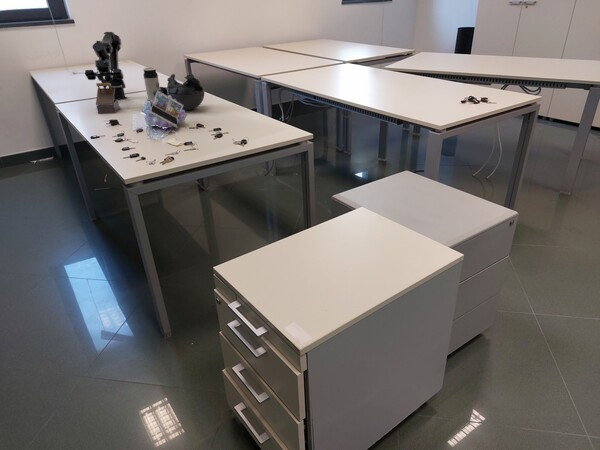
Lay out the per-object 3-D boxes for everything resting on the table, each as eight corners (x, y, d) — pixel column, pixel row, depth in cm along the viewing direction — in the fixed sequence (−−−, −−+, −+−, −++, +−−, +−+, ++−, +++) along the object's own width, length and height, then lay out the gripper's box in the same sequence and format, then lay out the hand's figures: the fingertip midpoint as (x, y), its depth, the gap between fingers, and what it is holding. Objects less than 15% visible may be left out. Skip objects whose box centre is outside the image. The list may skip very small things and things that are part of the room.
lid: (98, 89, 230) (94, 81, 226) (114, 88, 232) (111, 80, 227) (96, 104, 225) (92, 96, 220) (113, 104, 226) (110, 96, 221)
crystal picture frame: (166, 107, 220) (147, 81, 205) (199, 110, 211) (182, 82, 197) (147, 136, 211) (126, 111, 196) (181, 140, 203) (162, 114, 188)
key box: (103, 108, 237) (101, 99, 234) (119, 107, 238) (117, 99, 236) (98, 113, 227) (96, 105, 225) (115, 112, 228) (113, 104, 226)
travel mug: (145, 100, 253) (139, 69, 244) (153, 97, 259) (148, 67, 250) (155, 101, 250) (150, 70, 241) (164, 98, 256) (159, 67, 247)
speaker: (167, 102, 246) (163, 85, 240) (171, 105, 242) (167, 87, 236) (155, 106, 243) (150, 88, 237) (159, 108, 239) (154, 90, 233)
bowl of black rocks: (213, 109, 235) (209, 74, 225) (183, 116, 222) (177, 80, 213) (192, 103, 246) (188, 70, 237) (162, 109, 234) (157, 74, 224)
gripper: (81, 54, 222) (80, 79, 218) (117, 53, 225) (118, 78, 221) (88, 67, 233) (88, 91, 229) (123, 66, 236) (124, 90, 232)
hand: (104, 87), depth 227 cm, fingers closed, pressing on lid
